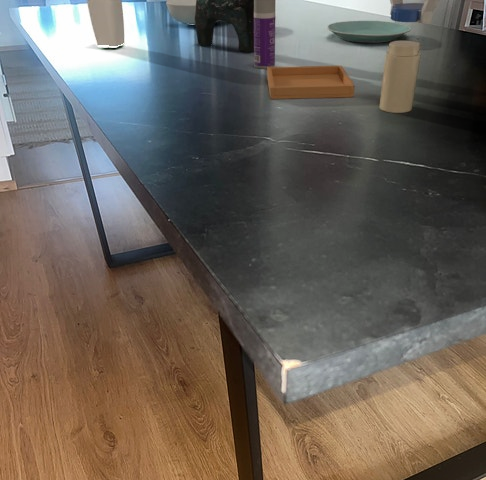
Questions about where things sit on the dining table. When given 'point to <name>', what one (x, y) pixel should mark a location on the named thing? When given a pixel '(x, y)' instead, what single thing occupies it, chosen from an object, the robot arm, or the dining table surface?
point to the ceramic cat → (226, 20)
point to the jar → (400, 76)
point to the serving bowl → (183, 10)
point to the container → (264, 33)
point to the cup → (107, 21)
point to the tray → (309, 82)
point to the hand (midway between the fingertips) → (410, 19)
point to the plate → (368, 31)
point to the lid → (406, 12)
